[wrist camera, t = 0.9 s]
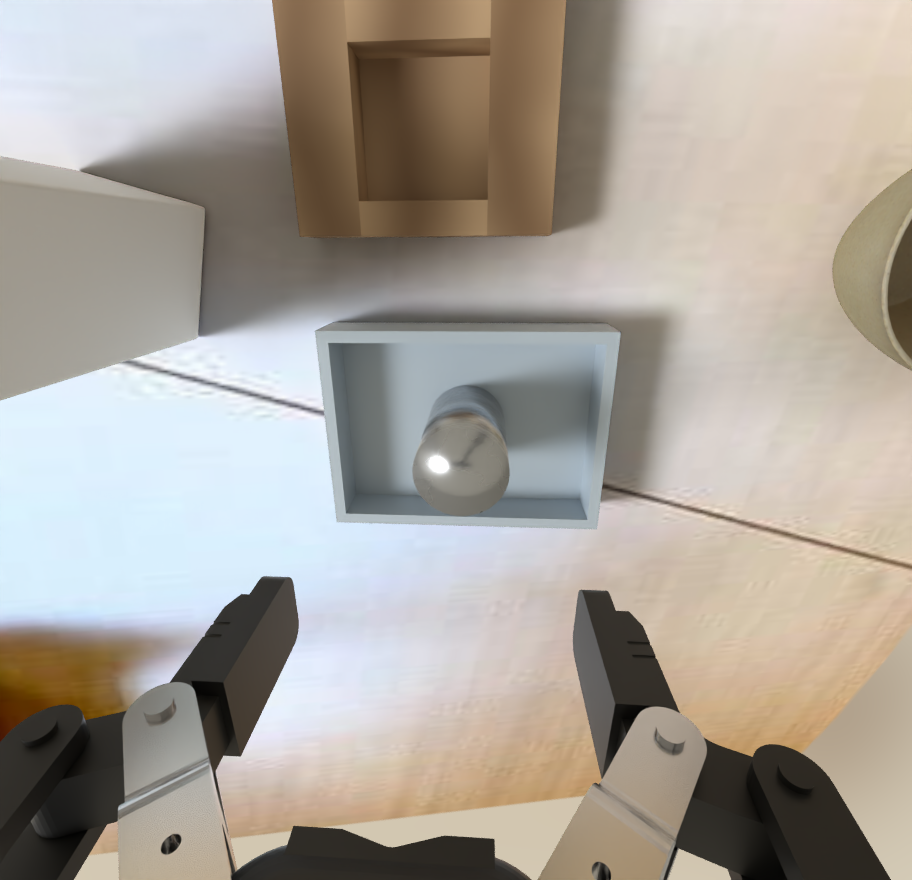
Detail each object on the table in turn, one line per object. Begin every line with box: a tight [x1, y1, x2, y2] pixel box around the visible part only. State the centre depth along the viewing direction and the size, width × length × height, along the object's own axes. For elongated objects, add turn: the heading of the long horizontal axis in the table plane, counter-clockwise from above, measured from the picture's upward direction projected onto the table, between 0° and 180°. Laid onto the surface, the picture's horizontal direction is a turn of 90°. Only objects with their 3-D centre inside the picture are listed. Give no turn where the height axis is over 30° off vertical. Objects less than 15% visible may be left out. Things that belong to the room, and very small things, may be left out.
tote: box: [315, 322, 621, 529], centre depth 27 cm, size 15×11×3 cm
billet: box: [412, 385, 510, 516], centre depth 25 cm, size 4×4×7 cm
